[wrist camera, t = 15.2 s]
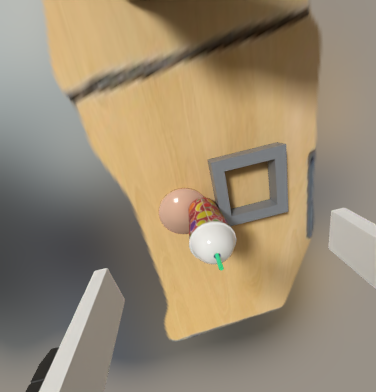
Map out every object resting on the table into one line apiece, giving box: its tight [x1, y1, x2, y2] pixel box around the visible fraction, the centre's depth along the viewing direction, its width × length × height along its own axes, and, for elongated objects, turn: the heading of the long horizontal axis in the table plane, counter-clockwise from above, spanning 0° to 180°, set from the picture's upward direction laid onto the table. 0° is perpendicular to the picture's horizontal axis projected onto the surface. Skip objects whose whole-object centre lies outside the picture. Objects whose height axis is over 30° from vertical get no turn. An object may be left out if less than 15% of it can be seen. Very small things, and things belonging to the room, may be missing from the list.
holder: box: [208, 142, 288, 226], centre depth 45 cm, size 16×16×4 cm
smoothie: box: [188, 198, 236, 270], centre depth 38 cm, size 8×8×20 cm
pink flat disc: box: [159, 188, 204, 234], centre depth 47 cm, size 12×12×1 cm
